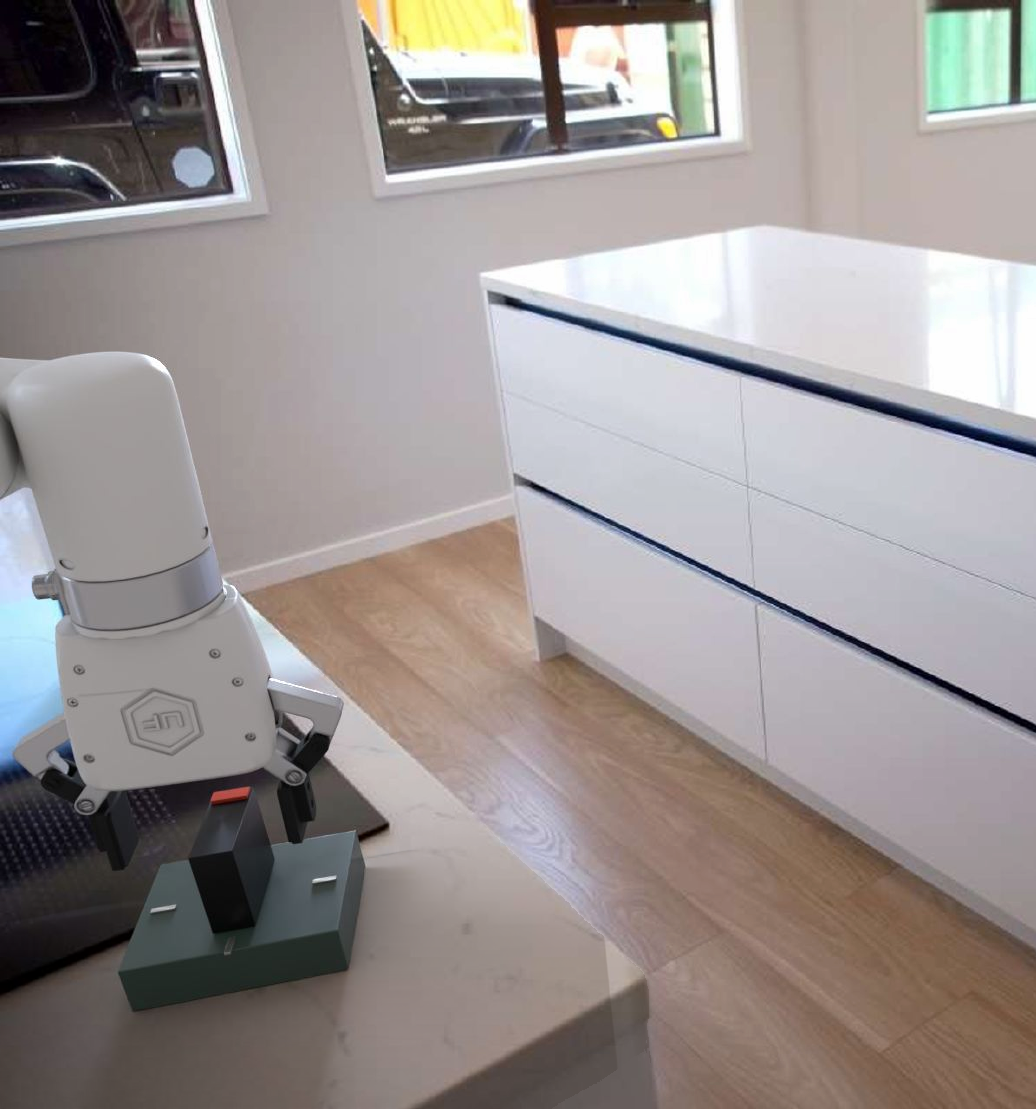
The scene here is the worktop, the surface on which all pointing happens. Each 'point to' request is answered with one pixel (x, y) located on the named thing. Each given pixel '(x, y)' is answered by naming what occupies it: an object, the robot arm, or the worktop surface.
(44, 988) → the worktop surface
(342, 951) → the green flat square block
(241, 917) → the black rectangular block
